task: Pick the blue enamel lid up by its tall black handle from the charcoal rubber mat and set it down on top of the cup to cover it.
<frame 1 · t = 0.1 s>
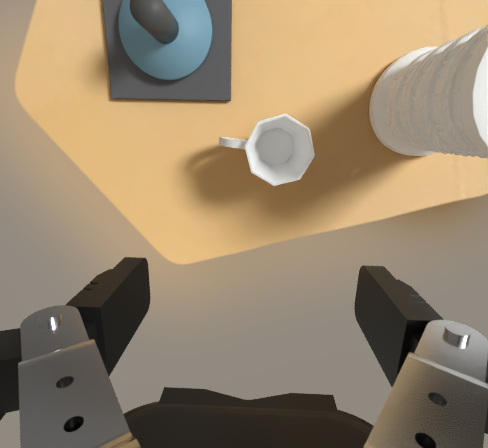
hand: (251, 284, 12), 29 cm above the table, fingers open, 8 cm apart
decorative container: (418, 104, 37), on the table
cup: (262, 145, 39), on the table
mat: (169, 33, 36), on the table
lid: (167, 31, 35), point 1 cm above the table, touching mat
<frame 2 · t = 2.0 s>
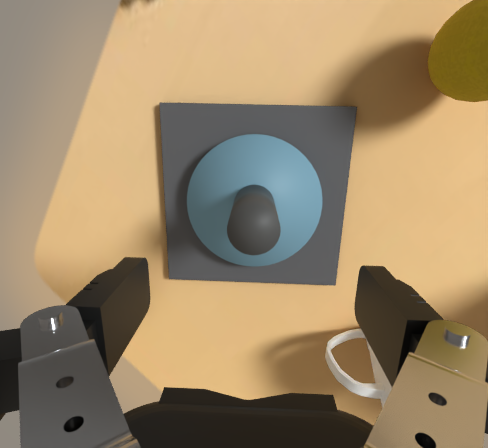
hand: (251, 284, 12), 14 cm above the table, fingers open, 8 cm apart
lemon: (446, 63, 22), on the table
cup: (371, 332, 29), on the table
mat: (254, 199, 25), on the table
lid: (254, 200, 25), point 1 cm above the table, touching mat
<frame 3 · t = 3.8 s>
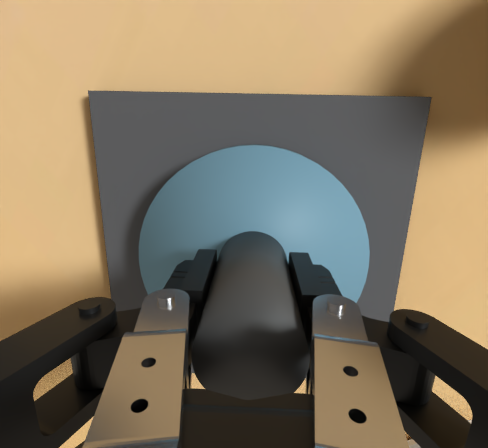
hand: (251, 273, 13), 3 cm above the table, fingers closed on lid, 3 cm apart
mat: (252, 248, 15), on the table
lid: (252, 253, 15), point 1 cm above the table, touching gripper, mat
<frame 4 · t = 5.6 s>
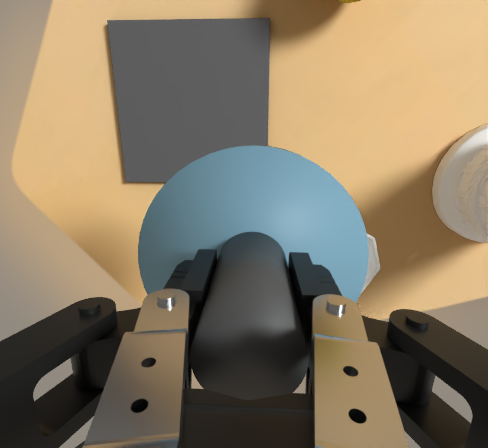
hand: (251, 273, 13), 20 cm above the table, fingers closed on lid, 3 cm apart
cup: (303, 228, 33), on the table
mat: (193, 107, 30), on the table
lid: (252, 253, 15), point 18 cm above the table, touching gripper
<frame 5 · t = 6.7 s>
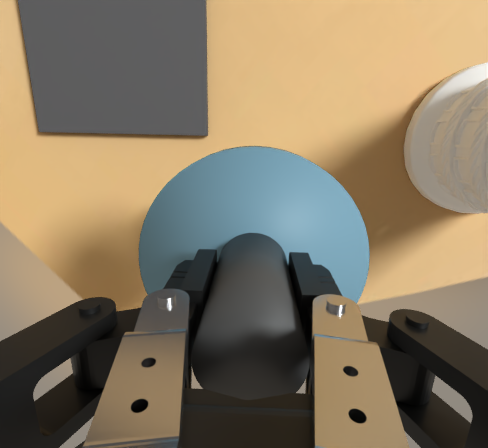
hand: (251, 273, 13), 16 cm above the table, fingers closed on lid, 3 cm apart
decorative container: (474, 141, 26), on the table
mat: (117, 40, 25), on the table
lid: (252, 254, 15), point 13 cm above the table, touching gripper
when the fingers open (12 cm above the table, at t = 7.5 s): lid drops 1 cm, resting on cup.
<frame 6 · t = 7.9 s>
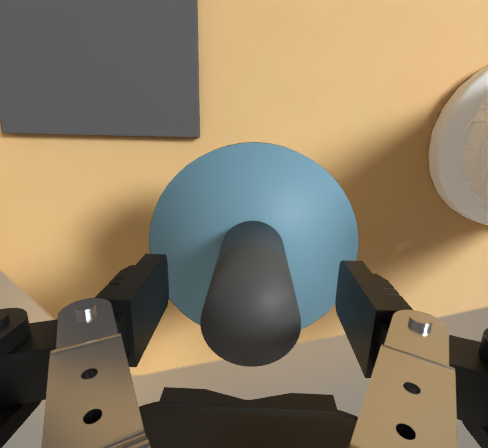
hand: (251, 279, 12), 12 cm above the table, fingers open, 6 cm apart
mat: (92, 24, 21), on the table
lid: (252, 242, 16), point 8 cm above the table, touching cup
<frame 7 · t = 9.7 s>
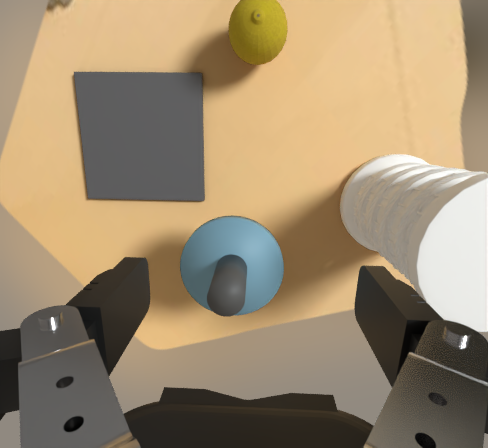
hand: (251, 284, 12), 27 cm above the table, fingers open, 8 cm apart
lemon: (257, 44, 34), on the table
decorative container: (388, 203, 38), on the table
mat: (143, 139, 37), on the table
lid: (232, 264, 32), point 8 cm above the table, touching cup
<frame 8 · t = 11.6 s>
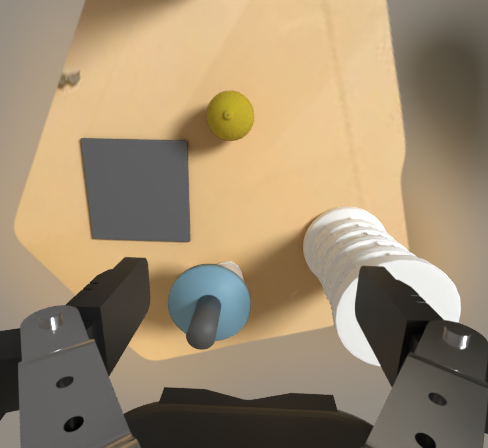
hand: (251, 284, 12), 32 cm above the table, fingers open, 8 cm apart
lemon: (233, 117, 41), on the table
decorative container: (343, 244, 45), on the table
mat: (138, 191, 44), on the table
lid: (210, 300, 39), point 8 cm above the table, touching cup
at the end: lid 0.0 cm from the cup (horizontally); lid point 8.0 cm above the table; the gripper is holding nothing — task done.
